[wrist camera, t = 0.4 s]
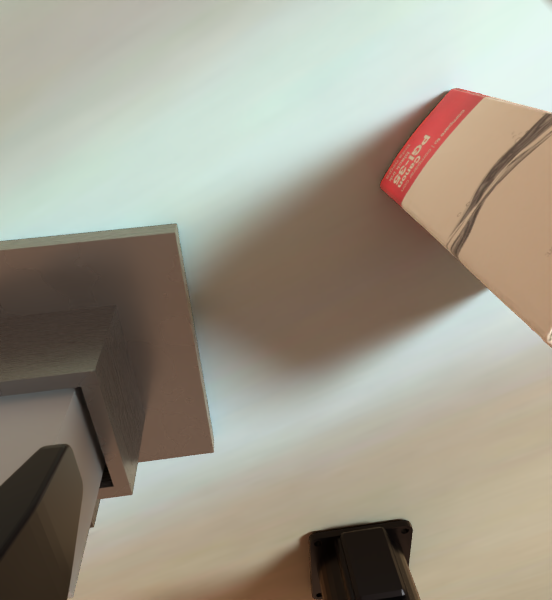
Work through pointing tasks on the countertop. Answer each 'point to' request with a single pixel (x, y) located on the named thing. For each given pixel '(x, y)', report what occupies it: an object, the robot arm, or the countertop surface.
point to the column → (50, 431)
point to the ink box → (486, 195)
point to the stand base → (108, 341)
